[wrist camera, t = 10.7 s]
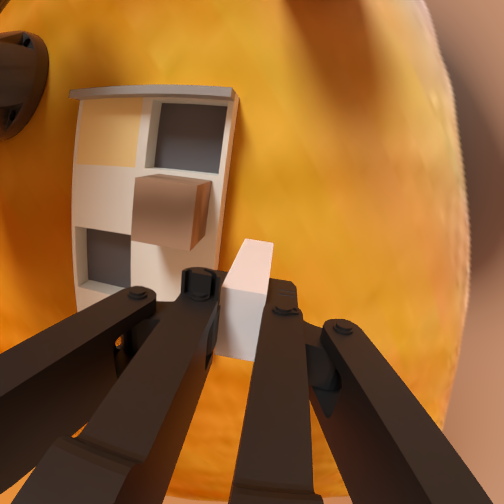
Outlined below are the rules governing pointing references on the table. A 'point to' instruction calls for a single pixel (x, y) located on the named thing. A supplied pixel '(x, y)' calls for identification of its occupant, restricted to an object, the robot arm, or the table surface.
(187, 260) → the box
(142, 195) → the block
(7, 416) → the robot arm
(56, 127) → the table surface
